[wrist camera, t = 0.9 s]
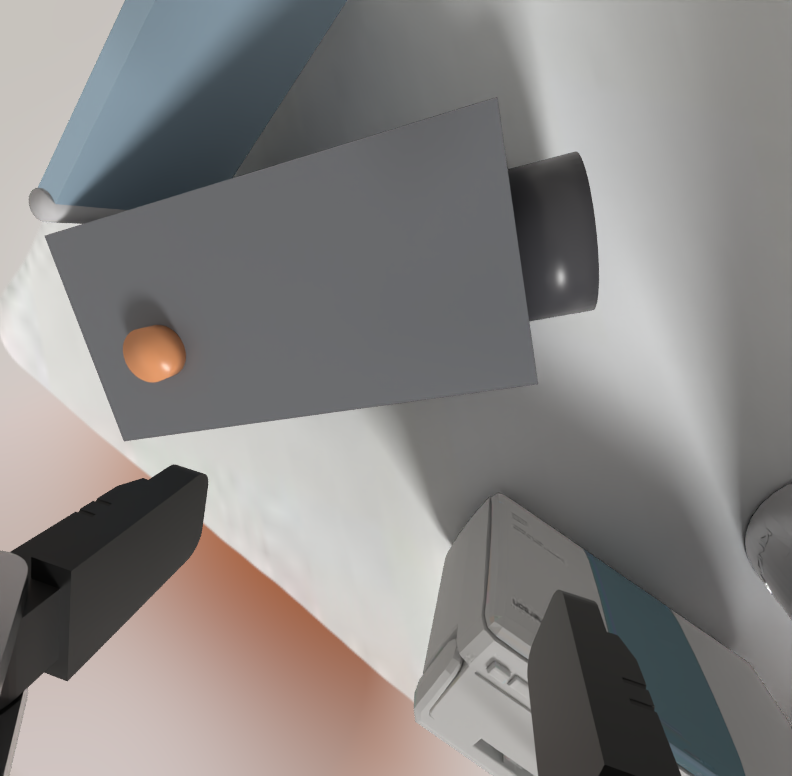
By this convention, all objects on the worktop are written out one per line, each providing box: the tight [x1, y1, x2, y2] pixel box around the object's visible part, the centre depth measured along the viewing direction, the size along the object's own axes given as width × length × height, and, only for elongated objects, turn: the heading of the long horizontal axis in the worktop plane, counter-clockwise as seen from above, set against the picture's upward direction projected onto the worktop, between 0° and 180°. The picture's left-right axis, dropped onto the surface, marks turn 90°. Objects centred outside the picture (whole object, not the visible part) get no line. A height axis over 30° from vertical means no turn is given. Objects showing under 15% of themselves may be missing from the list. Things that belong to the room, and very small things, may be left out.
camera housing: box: [45, 97, 599, 441], centre depth 24 cm, size 23×10×13 cm, turn 102°
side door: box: [29, 0, 347, 224], centre depth 23 cm, size 17×2×11 cm, turn 137°
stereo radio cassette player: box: [414, 493, 792, 776], centre depth 24 cm, size 21×8×20 cm, turn 58°
